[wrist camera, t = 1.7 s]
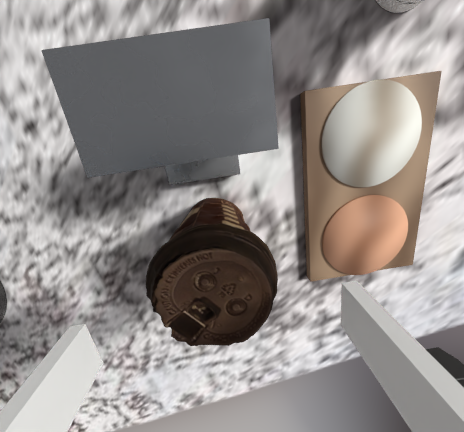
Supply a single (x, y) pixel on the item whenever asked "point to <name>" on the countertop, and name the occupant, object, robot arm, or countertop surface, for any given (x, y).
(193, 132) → the miniature fireplace
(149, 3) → the countertop surface
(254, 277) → the coffee cup
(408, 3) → the cup
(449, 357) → the robot arm
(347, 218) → the walnut board
